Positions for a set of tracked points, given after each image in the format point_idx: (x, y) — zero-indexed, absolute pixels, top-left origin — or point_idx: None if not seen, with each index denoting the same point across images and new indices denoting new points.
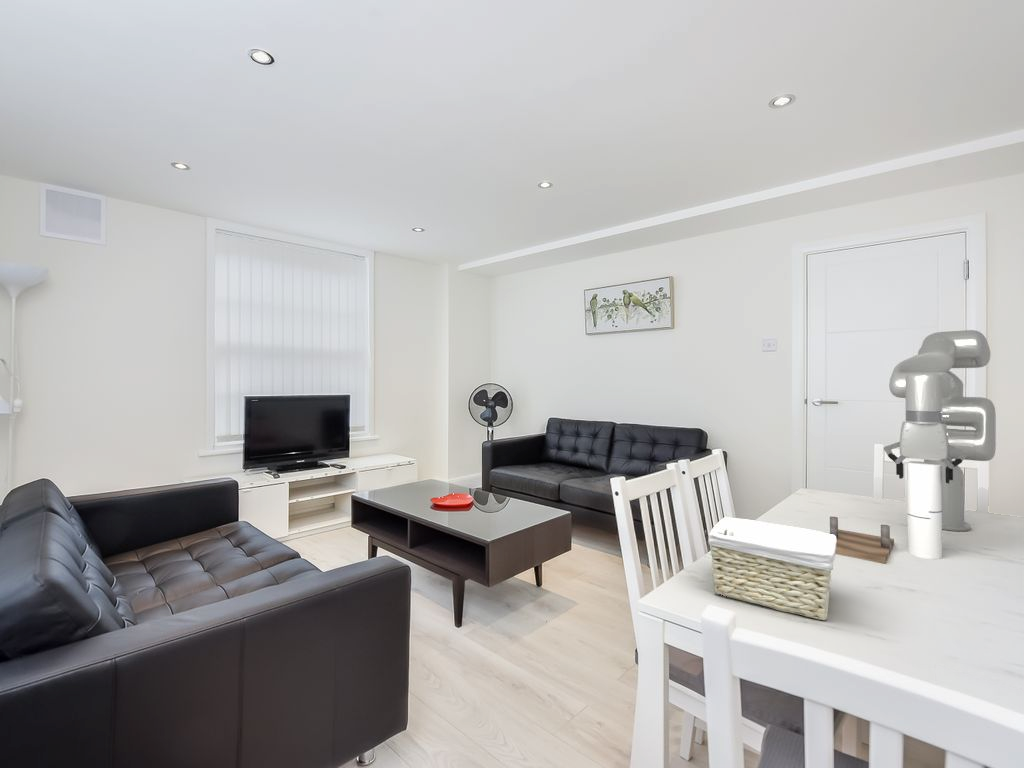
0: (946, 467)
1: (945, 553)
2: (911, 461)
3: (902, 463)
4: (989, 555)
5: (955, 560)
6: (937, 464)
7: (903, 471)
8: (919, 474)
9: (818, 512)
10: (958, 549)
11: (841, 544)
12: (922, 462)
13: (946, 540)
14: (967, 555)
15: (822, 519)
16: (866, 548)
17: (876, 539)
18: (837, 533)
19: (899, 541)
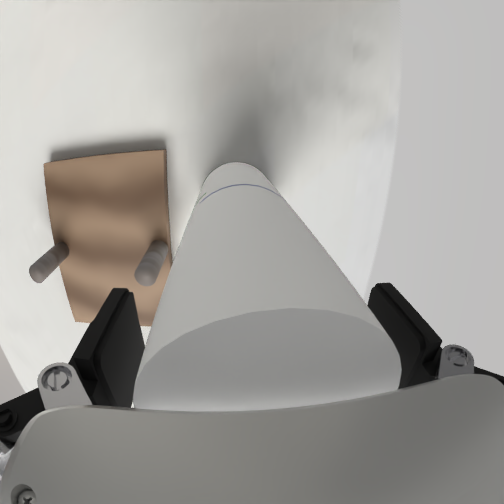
0: (421, 352)
1: (278, 150)
2: (150, 364)
3: (93, 364)
4: (361, 105)
5: (296, 198)
6: (375, 394)
7: (121, 315)
8: None
9: (11, 6)
10: (305, 91)
11: (90, 291)
12: (262, 367)
13: (281, 22)
14: (321, 135)
15: (14, 56)
16: (132, 287)
17: (129, 192)
18: (63, 258)
19: (175, 110)
